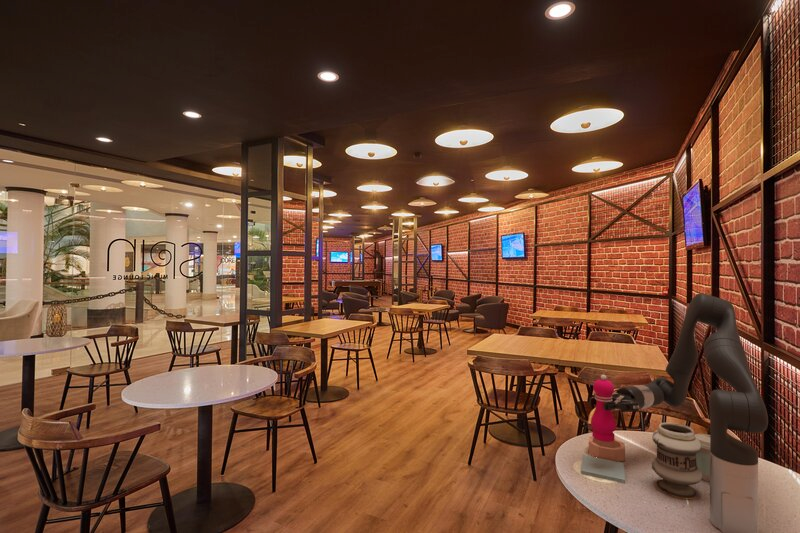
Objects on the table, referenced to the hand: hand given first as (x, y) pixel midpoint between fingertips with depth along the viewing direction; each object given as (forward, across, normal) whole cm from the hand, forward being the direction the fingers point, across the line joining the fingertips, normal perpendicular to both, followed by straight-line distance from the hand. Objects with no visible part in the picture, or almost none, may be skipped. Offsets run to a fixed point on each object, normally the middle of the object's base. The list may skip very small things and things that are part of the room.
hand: (597, 404), depth 129 cm
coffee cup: (-29, +16, +22) cm, 39 cm away
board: (-2, 0, +21) cm, 21 cm away
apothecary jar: (-12, +16, +21) cm, 30 cm away
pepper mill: (-3, 0, +11) cm, 12 cm away
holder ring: (-13, -8, +21) cm, 26 cm away
